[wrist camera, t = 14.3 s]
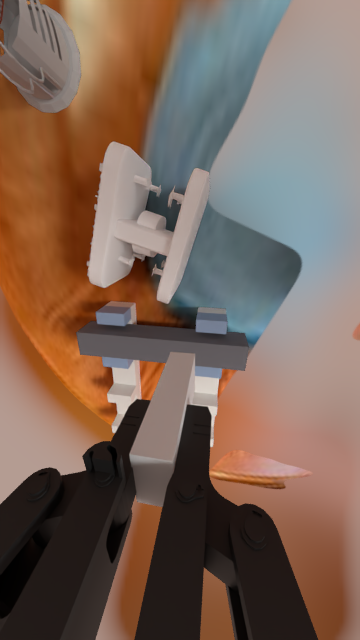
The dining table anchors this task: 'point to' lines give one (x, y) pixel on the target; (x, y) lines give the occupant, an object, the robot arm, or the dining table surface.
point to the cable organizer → (141, 222)
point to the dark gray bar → (163, 344)
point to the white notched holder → (128, 370)
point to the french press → (39, 54)
